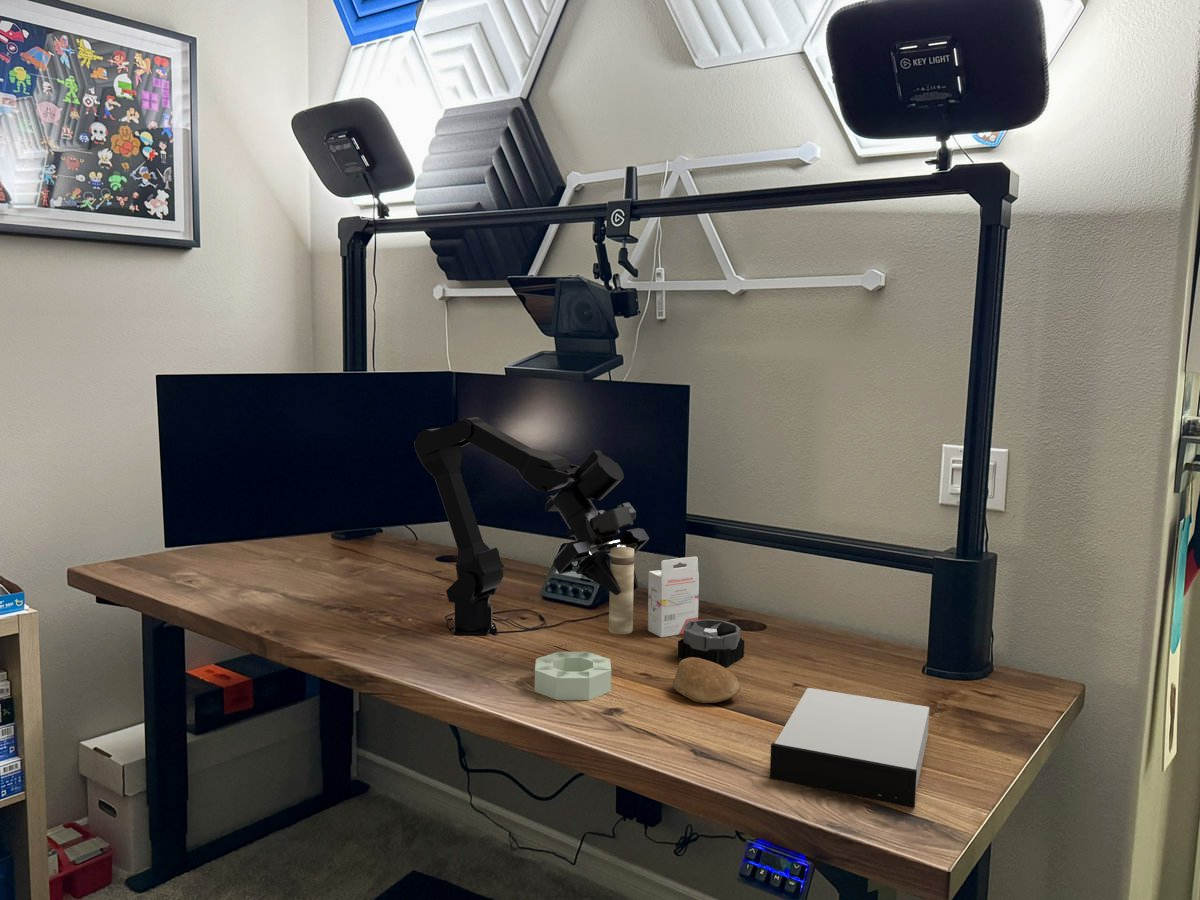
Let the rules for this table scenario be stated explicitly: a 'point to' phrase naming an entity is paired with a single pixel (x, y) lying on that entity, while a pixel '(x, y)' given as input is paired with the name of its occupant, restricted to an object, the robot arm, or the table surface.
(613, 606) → the maple peg
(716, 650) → the cpu cooler
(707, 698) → the stone
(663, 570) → the ink cartridge box
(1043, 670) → the table surface
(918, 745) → the disc drive
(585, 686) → the sage ashtray
